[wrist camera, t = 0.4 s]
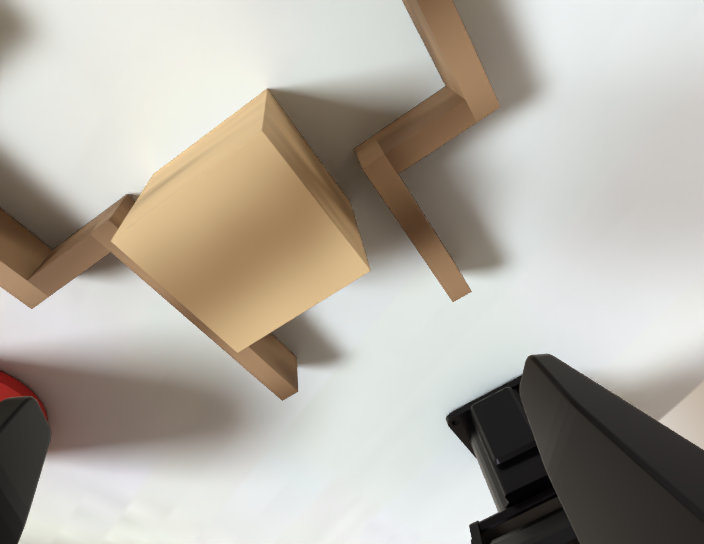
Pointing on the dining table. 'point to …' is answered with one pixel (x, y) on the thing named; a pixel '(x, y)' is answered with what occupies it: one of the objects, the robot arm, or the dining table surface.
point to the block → (245, 226)
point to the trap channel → (376, 161)
